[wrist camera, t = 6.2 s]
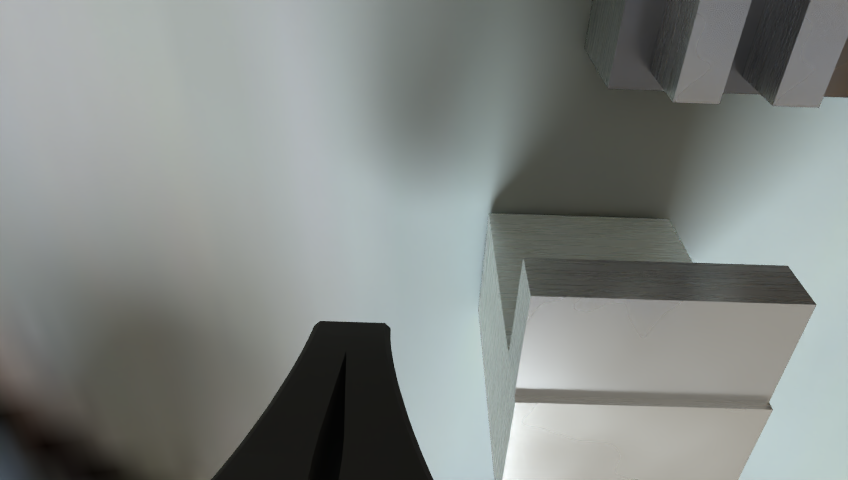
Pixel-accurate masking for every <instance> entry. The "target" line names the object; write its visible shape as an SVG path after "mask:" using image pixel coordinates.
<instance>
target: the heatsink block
mask: <svg viewBox="0 0 848 480" xmlns="http://www.w3.org/2000/svg"><path fill="white" fill-rule="evenodd" d="M585 50H586V52H587V53H588V55H589V57H590V59H591V60H592V62H593V64H594V66H595V67H596V69H597V71H598V73H599V74H600V76H601V78H602V79H603V81H604V83H605V85H606V86H607V88H608V89H629V90H657V91H665V92H666V94H667V95H668V96H669V98H670V99H671V100H672V102H679V103H706V104H720V101H721V98H722V95H723V93H739V94H761V95H762V96H763V97H764V98H765V99H766V100H767V101H768V102H769V103H770V104H771V105H772V106H789V107H817V108H819V106H820V104H821V101H822V99H823V97H848V0H593V3H592V9H591V14H590V20H589V26H588V31H587V37H586V43H585Z"/></svg>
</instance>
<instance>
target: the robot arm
mask: <svg viewBox="0 0 848 480" xmlns="http://www.w3.org/2000/svg"><path fill="white" fill-rule="evenodd" d="M211 480H433V478H432V476H431V474H430V471H429V469H428V467H427V464H426V462H425V460H424V457H423V455H422V453H421V450H420V447H419V445H418V442H417V440H416V437H415V435H414V432H413V429H412V426H411V423H410V421H409V418H408V415H407V411H406V408H405V405H404V402H403V399H402V395H401V392H400V389H399V385H398V381H397V377H396V372H395V368H394V363H393V358H392V351H391V341H390V327H389V326H387V325H386V324H385V323H363V322H330V321H320V322H318V323H317V324H316V325H315V326H314V328H313V330H312V332H311V334H310V337H309V339H308V341H307V342H306V344H305V346H304V348H303V350H302V352H301V354H300V356H299V357H298V359H297V361H296V363H295V364H294V366H293V368H292V369H291V371H290V373H289V375H288V376H287V378H286V379H285V381H284V382H283V384H282V386H281V387H280V389H279V390H278V392H277V393H276V395H275V396H274V398H273V399H272V401H271V403H270V404H269V406H268V407H267V408H266V410H265V411H264V413H263V414H262V416H261V417H260V418H259V420H258V421H257V422H256V424H255V425H254V426H253V428H252V429H251V431H250V432H249V433H248V435H247V436H246V437H245V439H244V440H243V441H242V443H241V444H240V445H239V447H238V448H237V449H236V450H235V452H234V453H233V454H232V455H231V457H230V458H229V459H228V460H227V462H226V463H225V464H224V465H223V466H222V468H221V469H220V470H219V471H218V472H217V473H216V475H215V476H214V477H213V478H212V479H211Z"/></svg>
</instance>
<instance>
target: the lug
mask: <svg viewBox="0 0 848 480" xmlns="http://www.w3.org/2000/svg"><path fill="white" fill-rule="evenodd" d="M815 307H816V304H815V302H814V301H813V300H812V298H811V297H810V296H809V294H808V293H807V291H806V290H805V289H804V287H803V286H802V285H801V283H800V282H799V281H798V279H797V278H796V276H795V275H794V274H793V272H792V271H791V270H790V268H789V267H788V266H775V265H744V264H713V263H693V262H692V260H691V259H690V257H689V255H688V253H687V251H686V249H685V248H684V246H683V244H682V242H681V240H680V238H679V237H678V235H677V233H676V231H675V229H674V227H673V225H672V224H671V222H670V220H669V219H649V218H618V217H588V216H558V215H527V214H497V213H489V216H488V225H487V234H486V243H485V253H484V262H483V271H482V280H481V289H480V298H479V307H478V312H479V323H480V333H481V344H482V354H483V365H484V375H485V386H486V396H487V407H488V417H489V428H490V438H491V448H492V459H493V469H494V480H738V479H739V477H740V474H741V472H742V470H743V468H744V466H745V464H746V462H747V460H748V458H749V456H750V454H751V452H752V450H753V448H754V446H755V444H756V442H757V440H758V438H759V436H760V434H761V432H762V430H763V428H764V426H765V424H766V422H767V420H768V418H769V416H770V414H771V412H772V410H773V409H772V407H771V406H770V404H769V401H770V399H771V397H772V395H773V393H774V390H775V388H776V386H777V384H778V382H779V380H780V378H781V376H782V374H783V372H784V370H785V368H786V366H787V364H788V362H789V360H790V358H791V356H792V354H793V352H794V350H795V348H796V345H797V343H798V341H799V339H800V337H801V335H802V333H803V331H804V329H805V327H806V325H807V323H808V321H809V319H810V317H811V315H812V313H813V311H814V309H815Z"/></svg>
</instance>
